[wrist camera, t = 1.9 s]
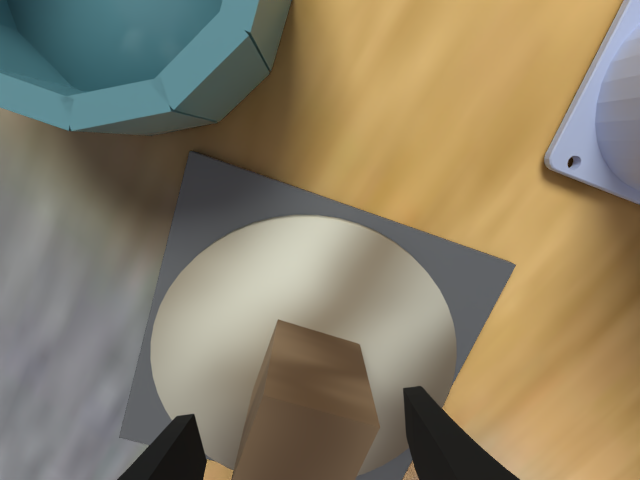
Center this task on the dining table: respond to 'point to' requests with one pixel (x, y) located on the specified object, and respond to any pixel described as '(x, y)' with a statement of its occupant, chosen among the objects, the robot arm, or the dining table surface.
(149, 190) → the dining table surface
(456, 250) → the mat
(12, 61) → the bowl
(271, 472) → the lid
